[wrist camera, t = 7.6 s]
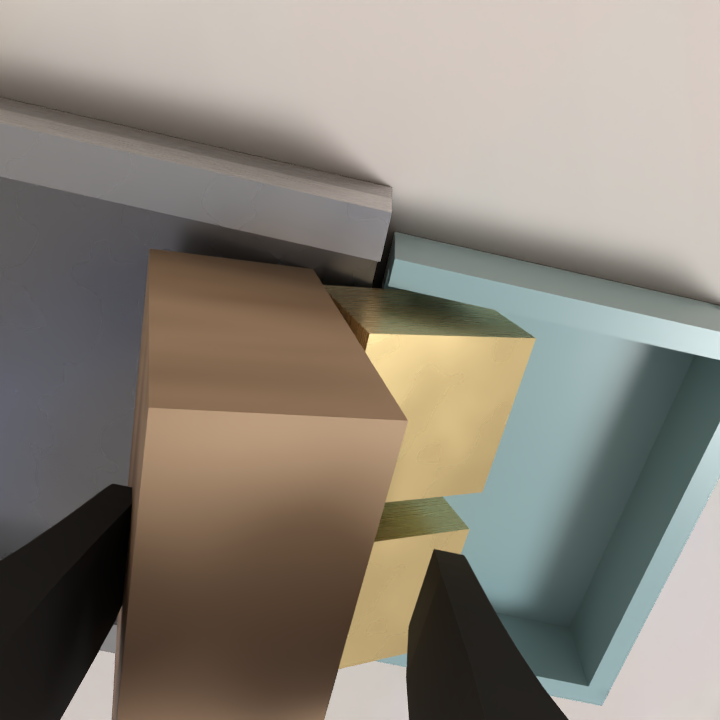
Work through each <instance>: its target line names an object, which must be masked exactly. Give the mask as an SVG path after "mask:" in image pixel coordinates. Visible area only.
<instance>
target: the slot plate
mask: <svg viewBox="0 0 720 720" xmlns="http://www.w3.org/2000/svg"><path fill="white" fill-rule="evenodd" d="M391 215H392V187H388V186H384V185H380V184H375V183H371V182H367V181H362V180H358V179H354V178H349V177H345V176H341V175H336V174H332V173H327V172H323V171H319V170H314V169H310V168H306V167H301V166H297V165H293V164H288V163H284V162H280V161H275V160H271V159H267V158H262V157H258V156H254V155H249V154H245V153H241V152H236V151H232V150H227V149H223V148H219V147H214V146H210V145H206V144H201V143H197V142H193V141H188V140H184V139H180V138H175V137H171V136H167V135H162V134H158V133H154V132H149V131H145V130H141V129H136V128H132V127H127V126H123V125H119V124H114V123H110V122H106V121H101V120H97V119H93V118H88V117H84V116H80V115H75V114H71V113H67V112H62V111H58V110H54V109H49V108H45V107H41V106H36V105H32V104H27V103H23V102H19V101H14V100H10V99H6V98H1V97H0V560H2V559H3V558H5V557H7V556H8V555H10V554H11V553H13V552H15V551H16V550H18V549H19V548H21V547H23V546H24V545H26V544H27V543H29V542H30V541H32V540H33V539H34V538H36V537H37V536H39V535H40V534H42V533H43V532H45V531H46V530H48V529H49V528H51V527H52V526H53V525H55V524H56V523H58V522H59V521H61V520H62V519H63V518H65V517H66V516H68V515H69V514H70V513H72V512H73V511H74V510H76V509H77V508H79V507H80V506H81V505H83V504H84V503H85V502H87V501H88V500H89V499H91V498H92V497H93V496H95V495H96V494H97V493H99V492H100V491H102V490H103V489H104V488H106V487H107V486H109V485H111V484H112V483H113V484H118V485H123V486H128V478H129V467H130V456H131V445H132V434H133V423H134V412H135V401H136V391H137V380H138V369H139V358H140V347H141V336H142V325H143V315H144V304H145V293H146V282H147V271H148V260H149V249H158V250H166V251H174V252H182V253H190V254H197V255H205V256H213V257H221V258H229V259H237V260H245V261H253V262H261V263H269V264H277V265H285V266H293V267H301V268H309V269H313V270H314V271H315V273H316V274H317V276H318V278H319V279H320V281H321V282H322V284H323V285H333V286H349V287H365V288H371V287H372V282H373V278H374V274H375V270H376V265H377V261H379V262H380V261H381V257H382V253H383V249H384V244H385V240H386V236H387V232H388V227H389V223H390V219H391ZM117 617H118V616H117ZM116 636H117V618H116V621H115V623H114V624H113V626H112V628H111V630H110V632H109V634H108V635H107V637H106V639H105V641H104V643H103V644H102V646H101V648H100V650H101V651H106V652H112V653H116Z"/></svg>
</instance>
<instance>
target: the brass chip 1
mask: <svg viewBox="0 0 720 720" xmlns="http://www.w3.org/2000/svg"><path fill="white" fill-rule="evenodd" d="M323 286H324V287H325V289H326V290H327V292H328V294H329V295H330V297H331V298H332V300H333V302H334V303H335V305H336V306H337V308H338V310H339V311H340V313H341V314H342V316H343V318H344V319H345V321H346V322H347V324H348V326H349V327H350V329H351V330H352V332H353V333H354V335H355V337H356V338H357V340H358V341H359V343H360V345H361V346H362V348H363V349H364V351H365V353H366V354H367V356H368V357H369V359H370V361H371V362H372V364H373V365H374V367H375V369H376V370H377V372H378V373H379V375H380V377H381V378H382V380H383V381H384V383H385V385H386V386H387V388H388V389H389V391H390V393H391V394H392V396H393V397H394V399H395V400H396V402H397V404H398V405H399V407H400V408H401V410H402V412H403V413H404V415H405V416H406V418H407V420H408V423H407V427H406V430H405V434H404V438H403V441H402V445H401V448H400V452H399V455H398V459H397V462H396V466H395V470H394V473H393V477H392V480H391V484H390V487H389V491H388V494H387V498H386V502H395V501H404V500H414V499H423V498H433V497H442V496H452V495H461V494H471V493H480V492H483V489H484V486H485V483H486V480H487V477H488V474H489V472H490V469H491V466H492V463H493V460H494V457H495V454H496V452H497V449H498V446H499V443H500V440H501V437H502V434H503V432H504V429H505V426H506V423H507V420H508V417H509V414H510V412H511V409H512V406H513V403H514V400H515V397H516V394H517V391H518V389H519V386H520V383H521V380H522V377H523V374H524V371H525V369H526V366H527V363H528V360H529V357H530V354H531V351H532V349H533V346H534V343H535V340H536V338H535V337H533V336H532V335H531V334H529V333H528V332H526V331H525V330H523V329H522V328H520V327H519V326H517V325H516V324H515V323H513V322H512V321H510V320H509V319H507V318H506V317H504V316H503V315H501V314H500V313H499V312H497V311H496V310H493V309H489V308H484V307H480V306H475V305H471V304H466V303H462V302H458V301H453V300H449V299H444V298H440V297H435V296H431V295H426V294H422V293H417V292H413V291H408V290H396V289H381V288H365V287H349V286H333V285H323ZM386 502H385V503H386Z"/></svg>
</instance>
